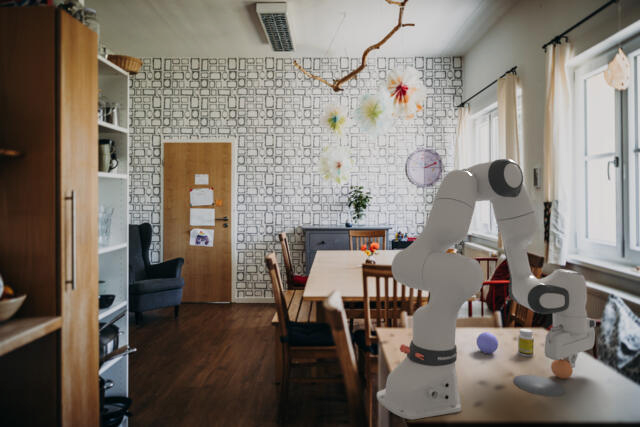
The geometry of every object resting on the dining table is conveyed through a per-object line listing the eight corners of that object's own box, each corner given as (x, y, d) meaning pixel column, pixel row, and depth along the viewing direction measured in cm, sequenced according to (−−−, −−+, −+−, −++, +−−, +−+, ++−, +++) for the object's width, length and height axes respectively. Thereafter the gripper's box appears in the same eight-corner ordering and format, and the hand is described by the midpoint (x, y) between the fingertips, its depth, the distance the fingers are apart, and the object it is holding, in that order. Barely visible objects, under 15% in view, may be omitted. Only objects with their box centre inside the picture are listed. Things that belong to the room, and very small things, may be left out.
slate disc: (546, 400, 105) (546, 399, 105) (503, 380, 116) (503, 380, 116) (574, 389, 111) (575, 389, 111) (531, 372, 122) (531, 371, 122)
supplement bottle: (535, 357, 134) (535, 332, 134) (520, 356, 135) (520, 331, 135) (530, 352, 139) (531, 328, 139) (516, 351, 140) (516, 327, 140)
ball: (573, 383, 117) (563, 379, 114) (554, 376, 122) (545, 371, 119) (578, 365, 118) (568, 360, 115) (559, 359, 123) (550, 354, 120)
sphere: (493, 349, 141) (494, 330, 141) (500, 357, 134) (501, 336, 134) (473, 348, 142) (474, 329, 142) (479, 356, 135) (480, 335, 135)
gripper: (559, 331, 112) (560, 379, 113) (599, 320, 122) (599, 364, 122) (538, 325, 118) (538, 371, 118) (577, 315, 127) (577, 357, 128)
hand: (569, 367), depth 120 cm, fingers closed
